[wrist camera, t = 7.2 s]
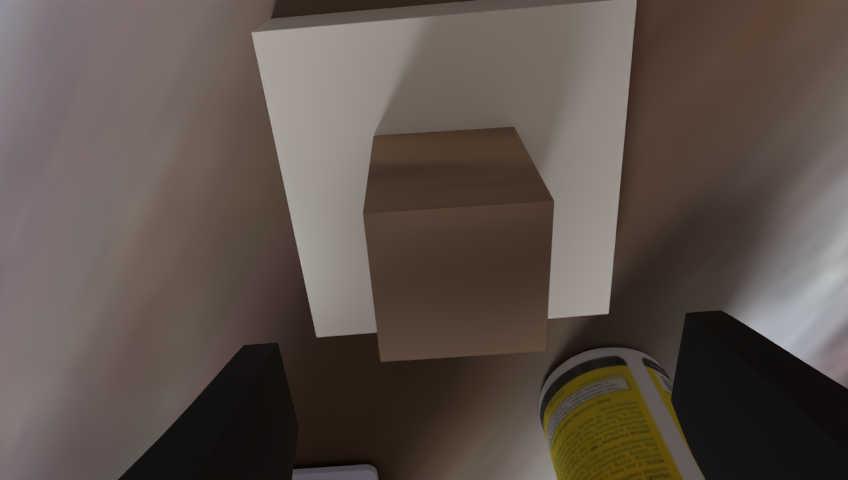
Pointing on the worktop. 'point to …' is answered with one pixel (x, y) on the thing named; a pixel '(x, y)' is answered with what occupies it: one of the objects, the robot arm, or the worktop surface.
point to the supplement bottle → (614, 419)
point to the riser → (449, 125)
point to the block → (457, 244)
